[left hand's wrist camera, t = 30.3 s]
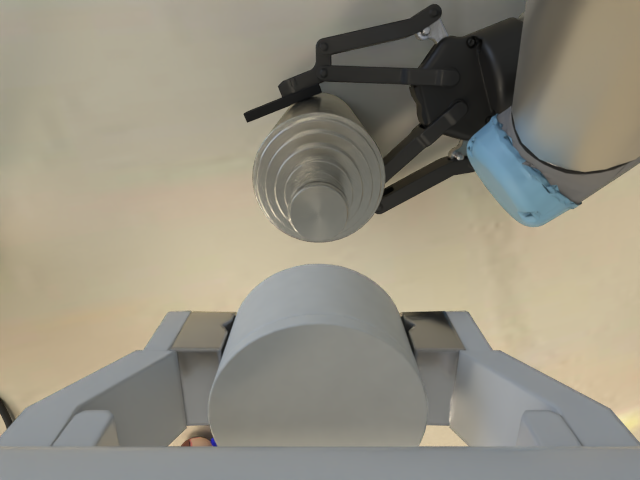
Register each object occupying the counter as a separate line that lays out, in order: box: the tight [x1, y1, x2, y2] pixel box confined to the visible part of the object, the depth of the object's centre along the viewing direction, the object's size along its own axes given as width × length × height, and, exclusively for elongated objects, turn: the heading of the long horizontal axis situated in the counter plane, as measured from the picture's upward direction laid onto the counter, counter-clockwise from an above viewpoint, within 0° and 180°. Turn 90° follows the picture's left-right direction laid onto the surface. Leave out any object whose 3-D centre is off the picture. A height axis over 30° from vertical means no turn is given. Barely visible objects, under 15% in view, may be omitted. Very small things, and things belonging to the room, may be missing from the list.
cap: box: [208, 264, 428, 446], centre depth 9 cm, size 4×4×2 cm
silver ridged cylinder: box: [253, 93, 385, 242], centre depth 32 cm, size 8×8×26 cm
